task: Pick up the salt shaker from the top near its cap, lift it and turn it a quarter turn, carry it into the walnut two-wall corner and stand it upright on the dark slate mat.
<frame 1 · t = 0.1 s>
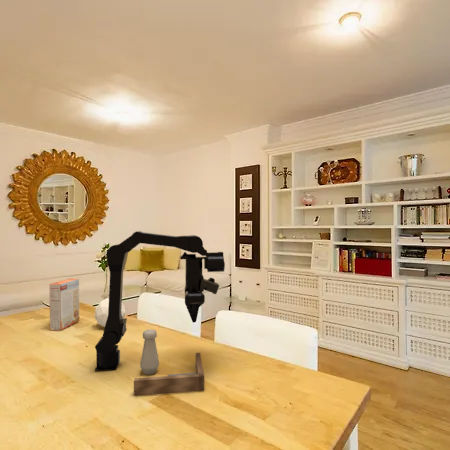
hand: (193, 318, 108), 15 cm above the table, tool pointing down, fingers open, 9 cm apart
corner walls: (168, 376, 97), on the table
cracker box: (64, 326, 148), on the table
salt shaker: (149, 372, 100), on the table
slate mat: (182, 381, 94), on the table
geodesic sphere: (110, 327, 147), on the table
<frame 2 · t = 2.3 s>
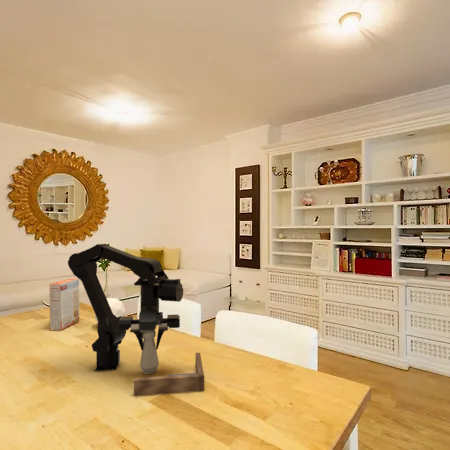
hand: (149, 349, 100), 7 cm above the table, tool pointing down, fingers open, 4 cm apart
salt shaker: (149, 372, 100), on the table, touching gripper
everything else where it was.
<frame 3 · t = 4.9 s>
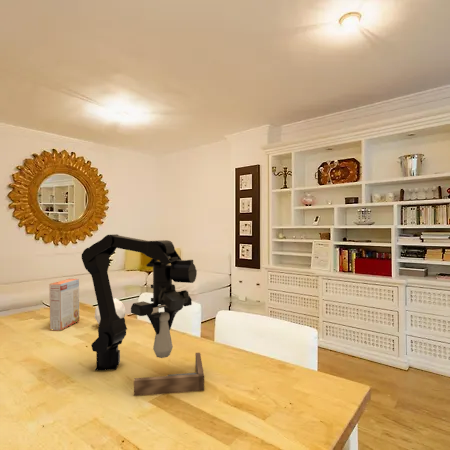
hand: (162, 332, 98), 13 cm above the table, tool pointing down, fingers closed on salt shaker, 3 cm apart
salt shaker: (163, 356, 98), point 6 cm above the table, touching gripper
everything else where it was.
when the fingers open (9 cm above the table, at t = 7.4 s): salt shaker drops 1 cm, resting on slate mat.
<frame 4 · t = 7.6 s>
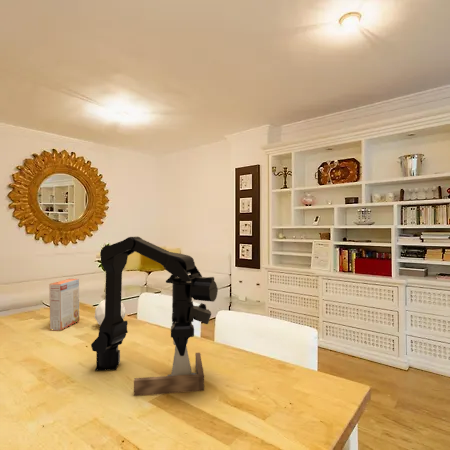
hand: (182, 351, 94), 9 cm above the table, tool pointing down, fingers open, 6 cm apart
salt shaker: (181, 380, 94), resting on slate mat
everything else where it was.
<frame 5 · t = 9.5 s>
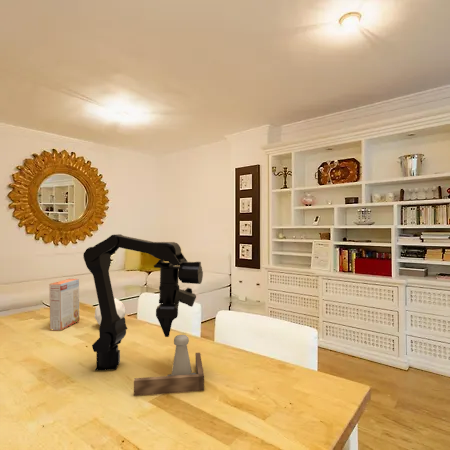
hand: (167, 331, 101), 13 cm above the table, tool pointing down, fingers open, 9 cm apart
nothing on the table moved.
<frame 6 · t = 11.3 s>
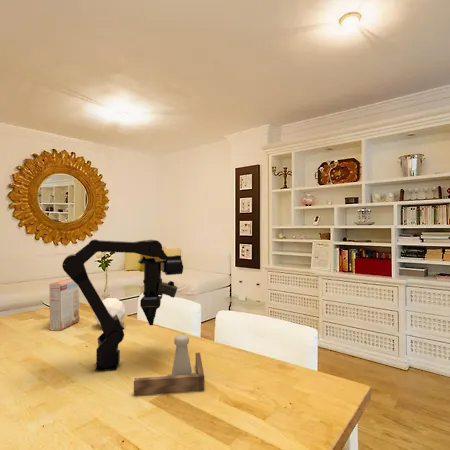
hand: (152, 321, 110), 13 cm above the table, tool pointing down, fingers open, 9 cm apart
nothing on the table moved.
at the end: salt shaker 0.1 cm from the target spot, resting on slate mat; salt shaker tilted 0°; the gripper is holding nothing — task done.
